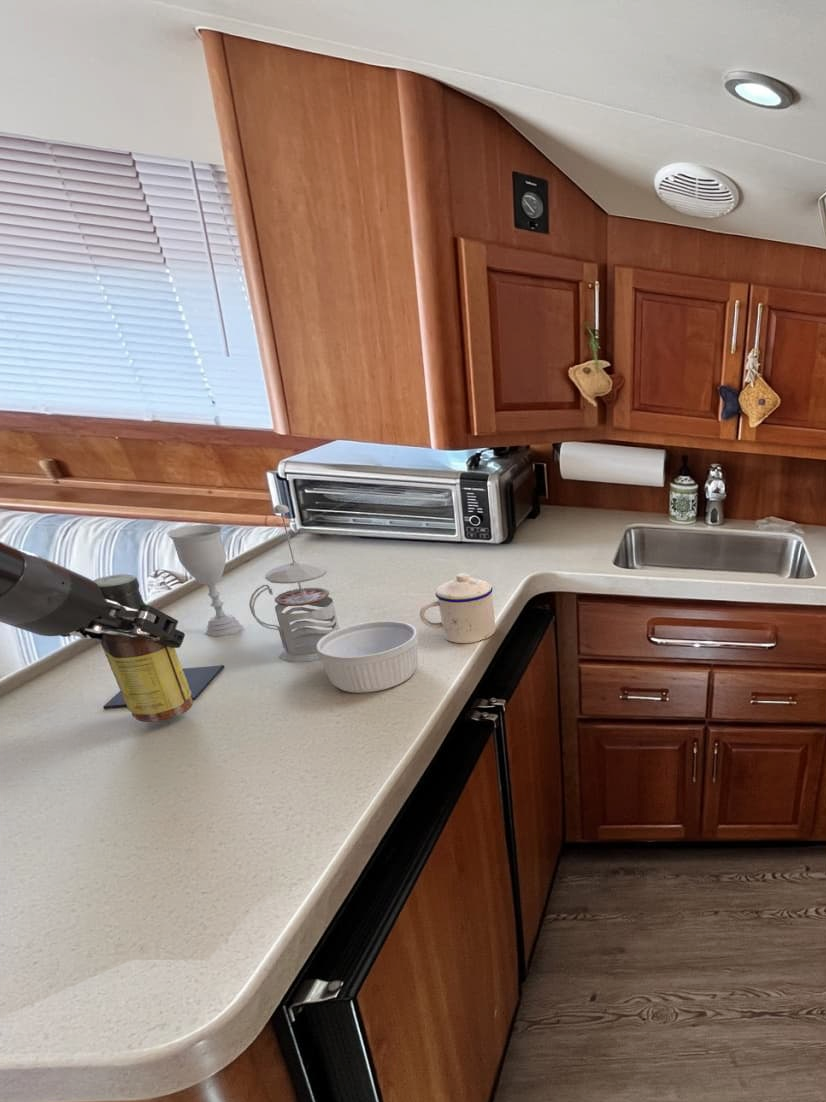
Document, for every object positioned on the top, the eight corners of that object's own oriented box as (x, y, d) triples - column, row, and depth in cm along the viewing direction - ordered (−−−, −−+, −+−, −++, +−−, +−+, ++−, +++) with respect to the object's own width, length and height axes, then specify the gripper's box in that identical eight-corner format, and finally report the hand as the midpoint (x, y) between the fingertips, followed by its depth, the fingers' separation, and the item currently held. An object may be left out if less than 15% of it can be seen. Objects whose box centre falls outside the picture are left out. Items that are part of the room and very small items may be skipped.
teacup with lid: (490, 619, 123) (484, 563, 118) (502, 638, 116) (496, 579, 112) (420, 632, 116) (410, 572, 111) (428, 652, 109) (418, 590, 105)
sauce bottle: (160, 699, 89) (114, 567, 82) (207, 701, 90) (166, 570, 82) (116, 725, 83) (62, 585, 76) (167, 727, 84) (118, 589, 76)
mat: (103, 708, 88) (102, 706, 88) (142, 674, 96) (141, 671, 96) (195, 700, 91) (194, 697, 91) (224, 667, 100) (223, 664, 100)
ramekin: (322, 668, 102) (313, 629, 99) (416, 650, 110) (410, 613, 107) (328, 707, 92) (318, 665, 90) (430, 684, 100) (423, 645, 97)
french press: (357, 650, 108) (327, 507, 98) (272, 671, 100) (229, 518, 90) (340, 630, 114) (310, 494, 104) (258, 649, 106) (217, 503, 96)
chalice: (197, 626, 111) (166, 528, 104) (247, 617, 116) (220, 522, 109) (199, 642, 106) (166, 540, 99) (251, 632, 111) (223, 534, 104)
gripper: (114, 563, 71) (220, 616, 87) (-33, 557, 69) (101, 612, 85) (86, 625, 68) (201, 668, 84) (-68, 621, 67) (78, 665, 82)
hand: (150, 640), depth 84 cm, fingers closed on sauce bottle, 6 cm apart
